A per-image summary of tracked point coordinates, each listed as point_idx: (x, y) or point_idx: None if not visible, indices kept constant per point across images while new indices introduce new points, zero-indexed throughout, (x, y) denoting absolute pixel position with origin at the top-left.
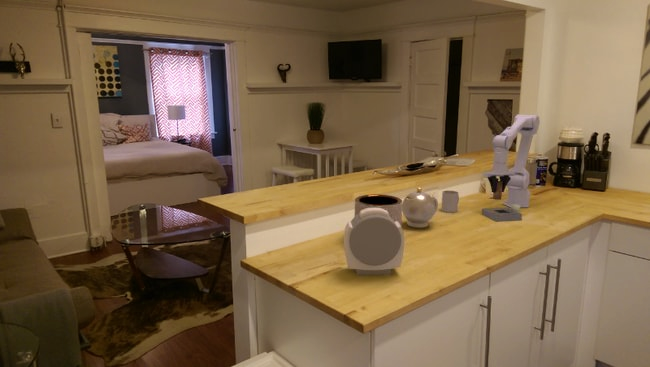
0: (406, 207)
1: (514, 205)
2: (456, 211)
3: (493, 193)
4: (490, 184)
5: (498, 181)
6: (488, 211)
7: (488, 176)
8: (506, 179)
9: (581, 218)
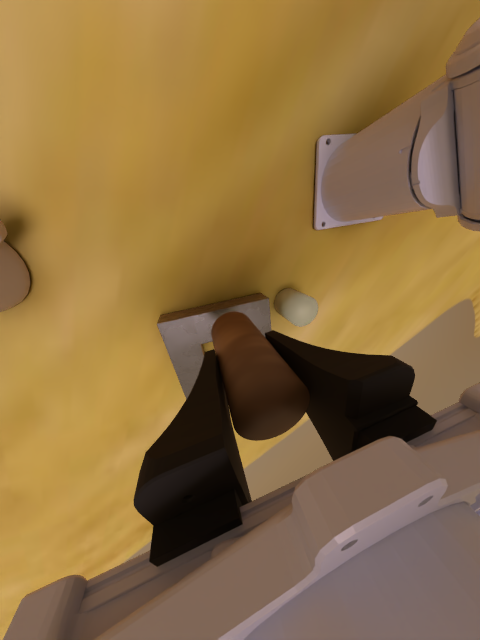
0: None
1: (294, 319)
2: (25, 296)
3: (215, 348)
4: (193, 391)
5: (272, 412)
6: (175, 362)
7: (122, 584)
8: (334, 458)
9: (404, 336)
